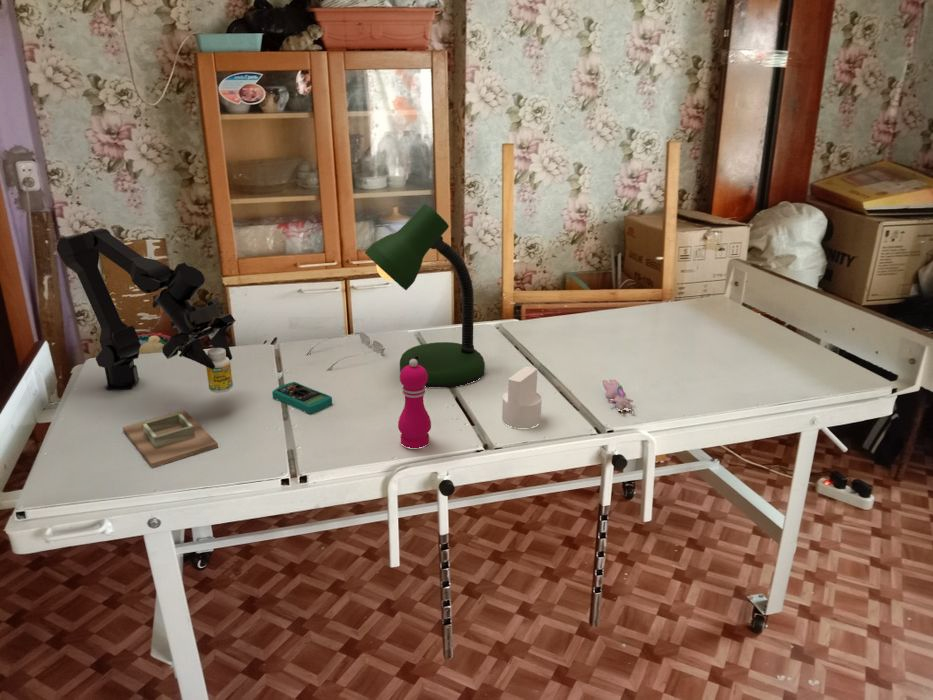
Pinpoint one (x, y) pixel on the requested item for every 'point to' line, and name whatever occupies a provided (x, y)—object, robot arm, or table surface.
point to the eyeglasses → (364, 339)
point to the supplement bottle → (219, 371)
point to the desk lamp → (402, 264)
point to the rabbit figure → (616, 394)
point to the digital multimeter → (302, 397)
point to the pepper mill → (414, 407)
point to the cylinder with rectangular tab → (522, 400)
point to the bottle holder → (169, 438)
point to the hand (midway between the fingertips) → (222, 363)
